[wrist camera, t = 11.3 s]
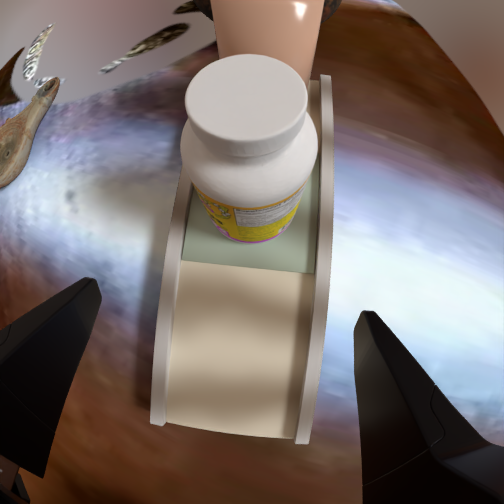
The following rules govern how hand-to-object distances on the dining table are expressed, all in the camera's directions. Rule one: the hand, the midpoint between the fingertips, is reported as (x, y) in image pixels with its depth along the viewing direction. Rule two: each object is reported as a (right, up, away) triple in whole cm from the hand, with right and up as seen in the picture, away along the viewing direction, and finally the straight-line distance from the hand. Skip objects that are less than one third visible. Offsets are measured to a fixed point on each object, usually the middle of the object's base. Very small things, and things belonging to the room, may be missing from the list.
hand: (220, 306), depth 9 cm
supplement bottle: (+1, +5, +13) cm, 14 cm away
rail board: (+1, +3, +14) cm, 15 cm away
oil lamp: (-28, +13, +17) cm, 36 cm away
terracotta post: (+2, +15, +15) cm, 22 cm away
